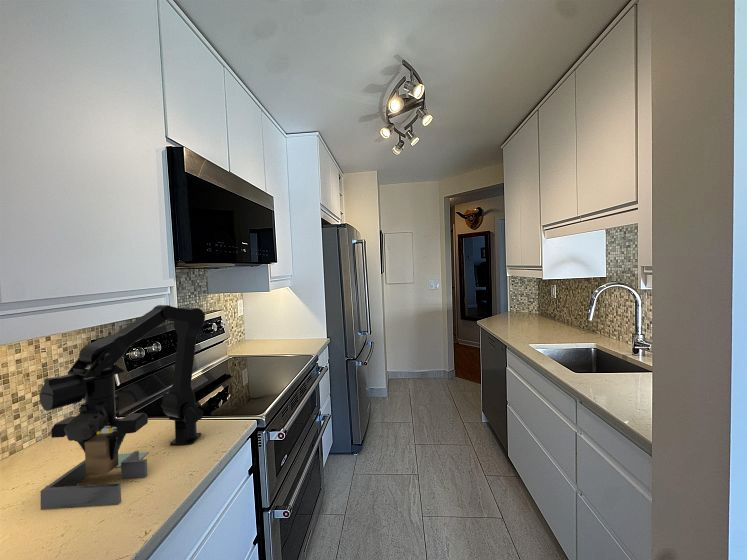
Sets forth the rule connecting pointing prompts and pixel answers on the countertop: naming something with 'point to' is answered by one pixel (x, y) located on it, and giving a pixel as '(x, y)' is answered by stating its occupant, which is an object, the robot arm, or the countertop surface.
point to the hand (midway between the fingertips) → (102, 459)
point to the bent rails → (89, 486)
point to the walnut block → (99, 456)
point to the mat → (124, 455)
